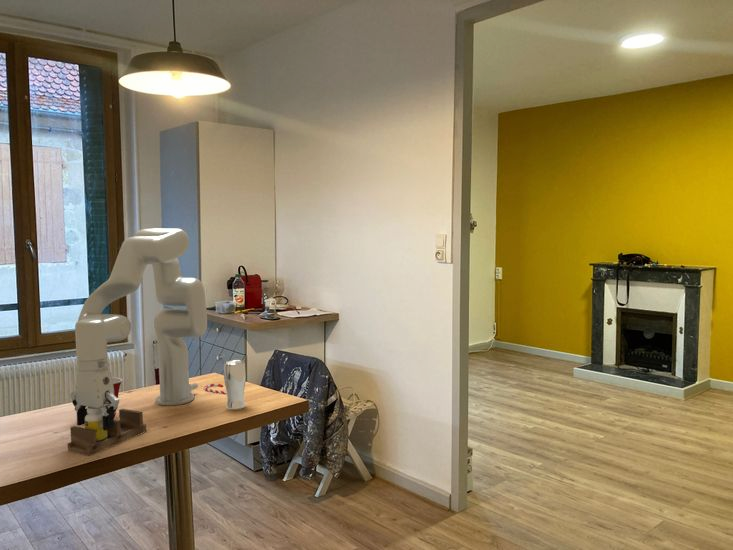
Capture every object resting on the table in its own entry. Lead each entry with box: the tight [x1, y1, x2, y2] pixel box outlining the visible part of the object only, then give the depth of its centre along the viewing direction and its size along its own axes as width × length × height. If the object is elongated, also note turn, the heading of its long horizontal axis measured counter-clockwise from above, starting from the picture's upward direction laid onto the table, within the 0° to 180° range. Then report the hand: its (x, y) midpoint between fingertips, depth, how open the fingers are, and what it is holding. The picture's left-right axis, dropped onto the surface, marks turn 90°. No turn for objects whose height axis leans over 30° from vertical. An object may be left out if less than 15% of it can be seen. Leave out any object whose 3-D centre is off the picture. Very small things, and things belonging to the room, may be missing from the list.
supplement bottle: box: [84, 407, 108, 443], centre depth 162 cm, size 5×5×10 cm
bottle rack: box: [66, 408, 147, 457], centre depth 166 cm, size 20×8×6 cm, turn 155°
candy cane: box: [203, 383, 227, 395], centre depth 216 cm, size 8×1×15 cm
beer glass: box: [223, 359, 247, 411], centre depth 195 cm, size 7×7×15 cm
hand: (95, 426), depth 162 cm, fingers open, 9 cm apart
